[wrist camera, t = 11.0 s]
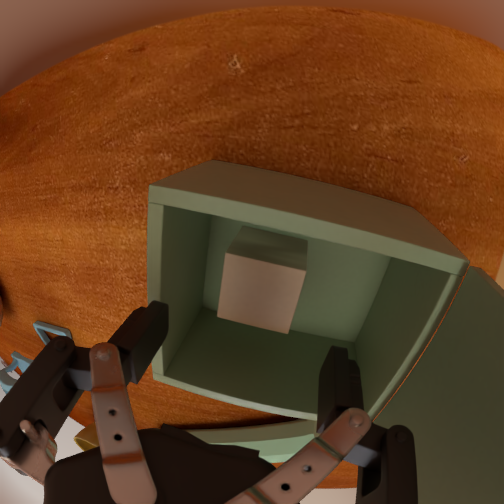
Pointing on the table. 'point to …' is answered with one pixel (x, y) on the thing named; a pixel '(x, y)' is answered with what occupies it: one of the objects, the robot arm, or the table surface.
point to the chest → (312, 294)
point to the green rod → (264, 438)
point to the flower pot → (87, 438)
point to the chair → (24, 362)
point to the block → (262, 279)
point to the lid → (458, 400)
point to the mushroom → (1, 310)
